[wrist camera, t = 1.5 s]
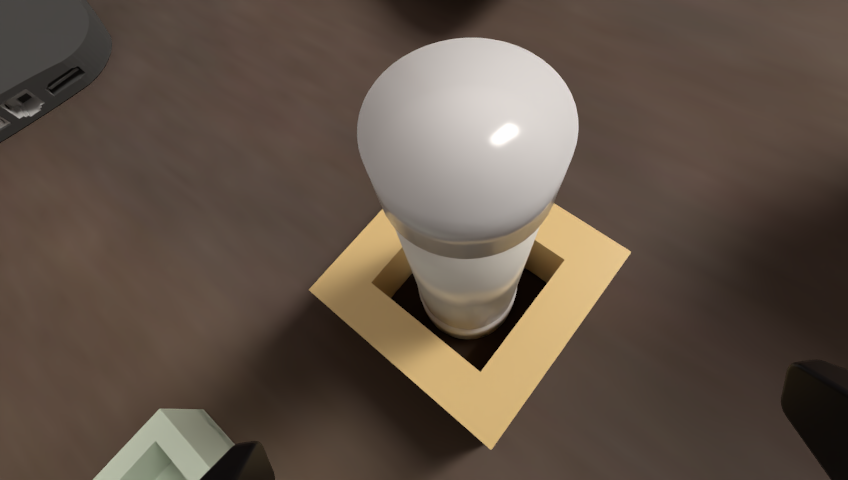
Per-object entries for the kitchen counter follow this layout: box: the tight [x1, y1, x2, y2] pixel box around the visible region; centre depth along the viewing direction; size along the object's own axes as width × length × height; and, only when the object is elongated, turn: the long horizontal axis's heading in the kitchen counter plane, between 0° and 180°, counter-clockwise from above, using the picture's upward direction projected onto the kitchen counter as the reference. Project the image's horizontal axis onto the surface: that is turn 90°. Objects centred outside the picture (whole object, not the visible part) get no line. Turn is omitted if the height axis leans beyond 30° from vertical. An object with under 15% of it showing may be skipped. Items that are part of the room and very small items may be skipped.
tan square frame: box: [309, 203, 631, 450], centre depth 19 cm, size 9×9×4 cm
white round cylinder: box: [357, 38, 578, 340], centre depth 14 cm, size 4×4×13 cm
